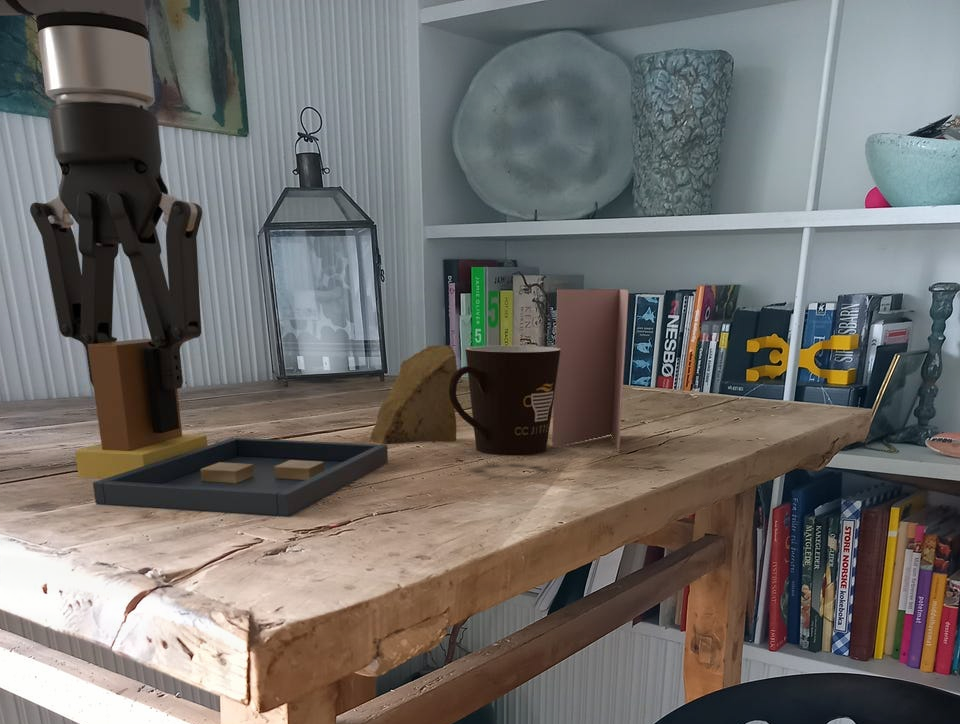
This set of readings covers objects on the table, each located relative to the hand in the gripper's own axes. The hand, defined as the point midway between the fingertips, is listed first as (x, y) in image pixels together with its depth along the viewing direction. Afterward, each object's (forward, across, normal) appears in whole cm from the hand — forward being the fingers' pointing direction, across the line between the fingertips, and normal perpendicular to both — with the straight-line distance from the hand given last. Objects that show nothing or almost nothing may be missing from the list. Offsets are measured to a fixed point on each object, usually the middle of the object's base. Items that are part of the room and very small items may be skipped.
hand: (142, 428), depth 77 cm
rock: (+4, -16, -22) cm, 28 cm away
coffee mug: (+4, -26, -16) cm, 31 cm away
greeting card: (+4, -36, -28) cm, 45 cm away
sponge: (+4, 0, 0) cm, 4 cm away
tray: (+4, -12, +3) cm, 13 cm away
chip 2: (+3, -14, 0) cm, 14 cm away
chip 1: (+3, -9, +3) cm, 10 cm away
